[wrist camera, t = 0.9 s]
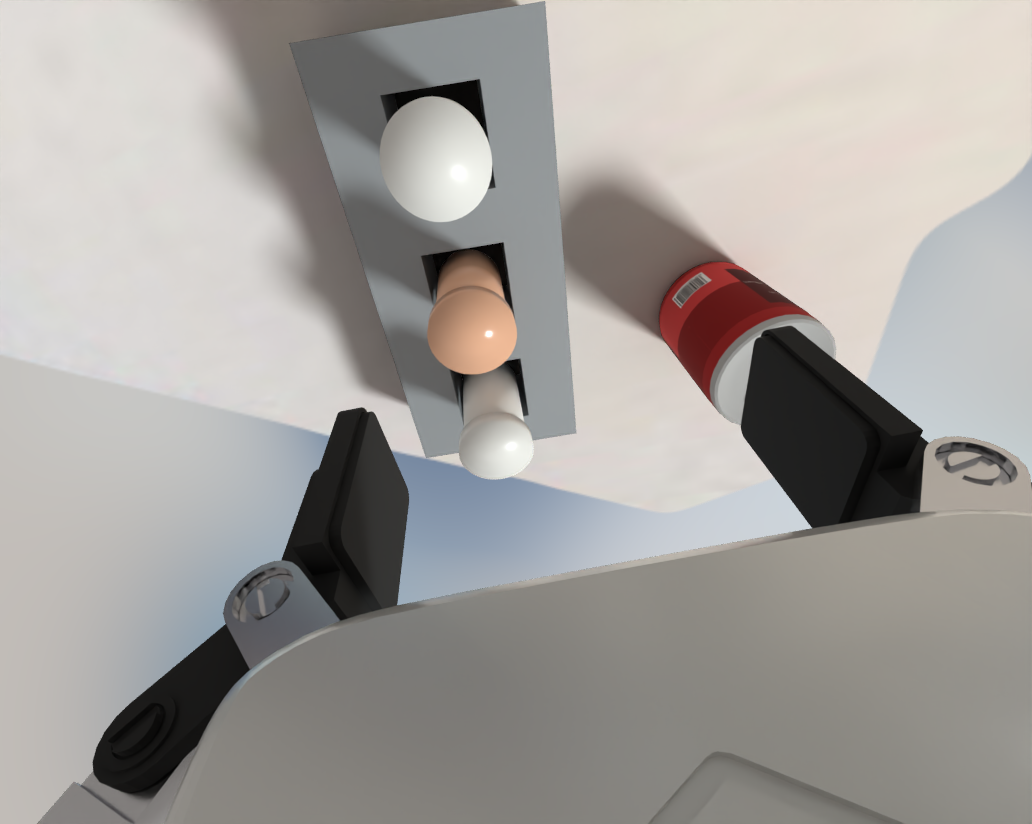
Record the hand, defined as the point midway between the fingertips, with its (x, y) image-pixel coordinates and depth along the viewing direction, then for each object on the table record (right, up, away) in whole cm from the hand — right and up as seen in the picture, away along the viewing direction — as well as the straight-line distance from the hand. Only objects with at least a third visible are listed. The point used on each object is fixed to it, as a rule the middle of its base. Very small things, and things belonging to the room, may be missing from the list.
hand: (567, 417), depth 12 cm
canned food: (+14, +9, +27) cm, 32 cm away
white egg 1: (-5, +15, +14) cm, 21 cm away
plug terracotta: (-4, +9, +19) cm, 21 cm away
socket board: (-5, +11, +23) cm, 26 cm away
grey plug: (-3, +2, +24) cm, 24 cm away
